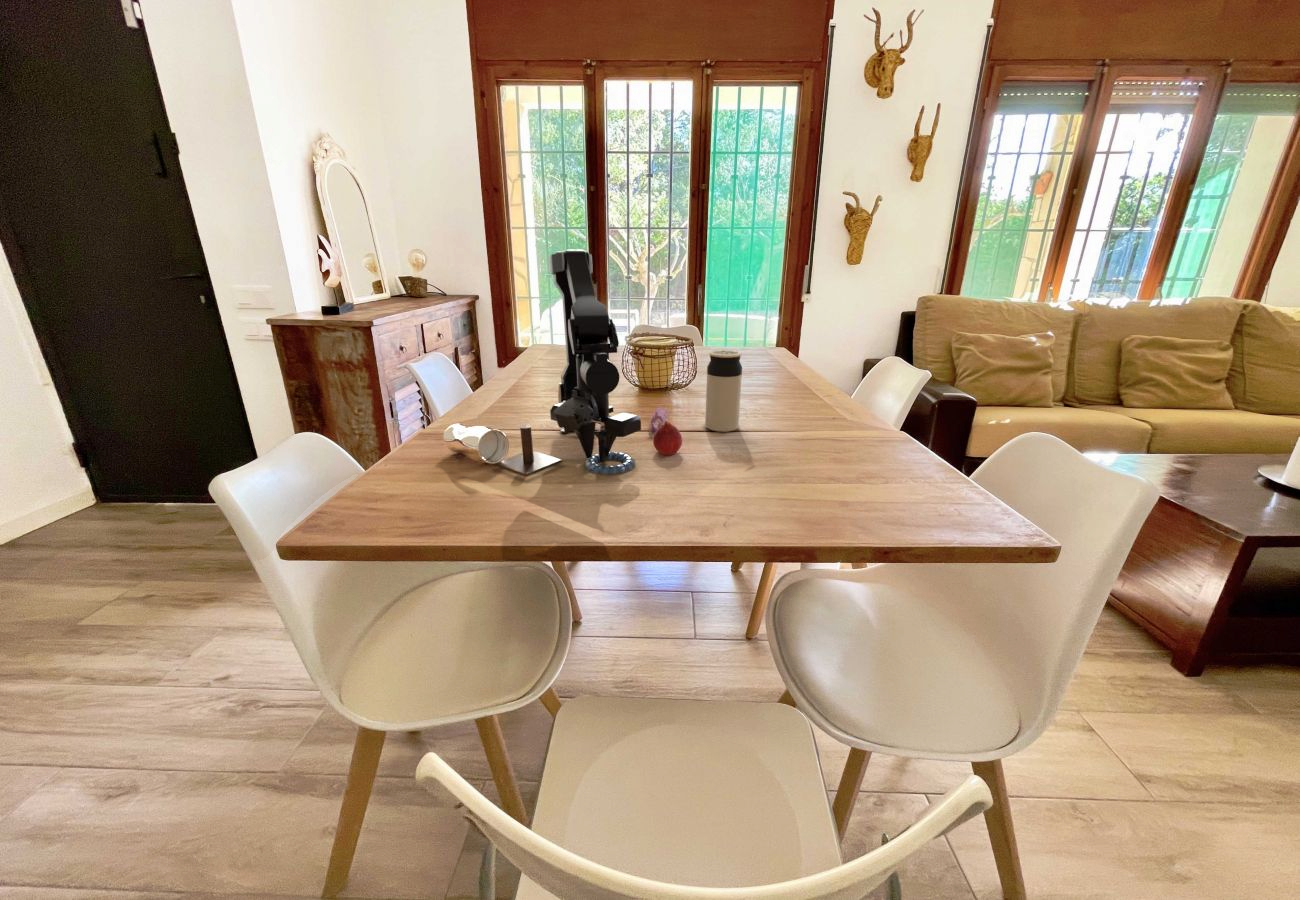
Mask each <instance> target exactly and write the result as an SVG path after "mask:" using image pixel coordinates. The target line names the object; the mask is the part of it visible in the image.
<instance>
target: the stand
mask: <svg viewBox="0 0 1300 900" xmlns="http://www.w3.org/2000/svg"><path fill="white" fill-rule="evenodd" d="M519 429H520V431H519V432H520V439H521V441H520V443H521V451H522V453H518V454H516V455H514V456H511V457H508V458H506V459H505V458H504V459H503V460H502V461H500V462H498V463H495V464H494V466H496V467H498V468H501V469H504V470H507V471H509V472H513V473H515V474H517V475H521V476H524V477H529V476H531V475H534V474H536V473H538V472H540V471H544V470H545V469H548V468H550V467H553V466H555V465H558V464H560V463H562V462H563V459H560V458H558V457H555V456H552V455H549V454H545V453H542V452H539V451H535V450H534V445H533V435H532V434H533V433H532V426H531V425H528V424H526V425H521V426H520V427H519Z"/></svg>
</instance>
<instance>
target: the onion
mask: <svg viewBox="0 0 1300 900" xmlns="http://www.w3.org/2000/svg"><path fill="white" fill-rule="evenodd" d="M654 432H655V433H653V438H652V444H653V447H654V448H655V450H656V451H657V452H658V453H659V454H660V455H662V456H673V455H675V454H677V452H679V450H680V449H681V447H682V445H683V437H682V434H681V432H680V429H678V427H677V426H675V425H674V424H672V423H671V421H670V420H669V419H666V421H665V423H664V425H662V426H661V427H660V428H659V429H658V430H657V431H654Z"/></svg>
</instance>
